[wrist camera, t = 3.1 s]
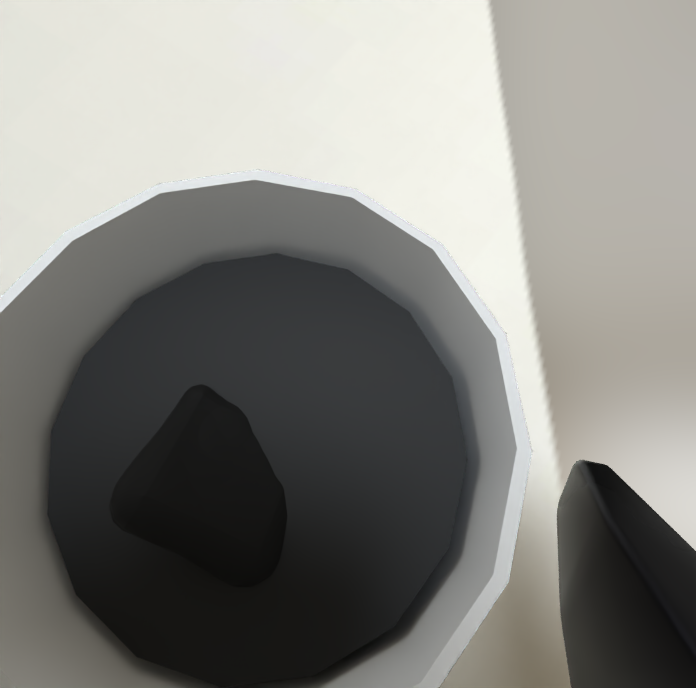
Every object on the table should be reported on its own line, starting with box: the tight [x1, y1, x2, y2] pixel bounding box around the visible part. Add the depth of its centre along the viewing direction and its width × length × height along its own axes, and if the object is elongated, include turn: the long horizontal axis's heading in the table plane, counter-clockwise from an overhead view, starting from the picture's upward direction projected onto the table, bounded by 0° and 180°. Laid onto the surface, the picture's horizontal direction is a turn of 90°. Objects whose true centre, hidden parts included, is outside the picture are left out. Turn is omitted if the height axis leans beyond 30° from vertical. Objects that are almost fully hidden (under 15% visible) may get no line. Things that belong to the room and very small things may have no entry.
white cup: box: [0, 169, 532, 688], centre depth 11 cm, size 7×7×10 cm
